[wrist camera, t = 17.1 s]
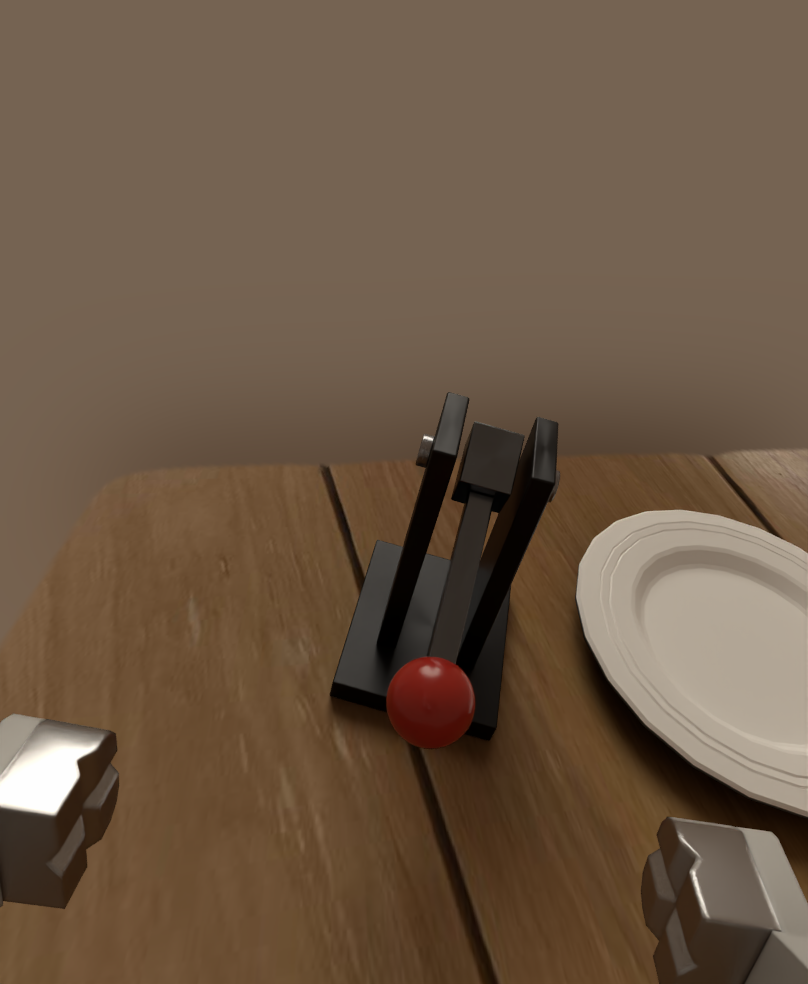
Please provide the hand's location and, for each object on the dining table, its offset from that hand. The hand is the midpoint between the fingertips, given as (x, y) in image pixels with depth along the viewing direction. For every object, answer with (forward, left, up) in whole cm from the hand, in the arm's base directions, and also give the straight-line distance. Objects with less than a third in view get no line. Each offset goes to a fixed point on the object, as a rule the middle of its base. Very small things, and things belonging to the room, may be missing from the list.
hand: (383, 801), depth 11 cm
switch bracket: (+2, +20, -21) cm, 29 cm away
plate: (+20, +25, -21) cm, 38 cm away
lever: (+2, +16, -13) cm, 21 cm away
